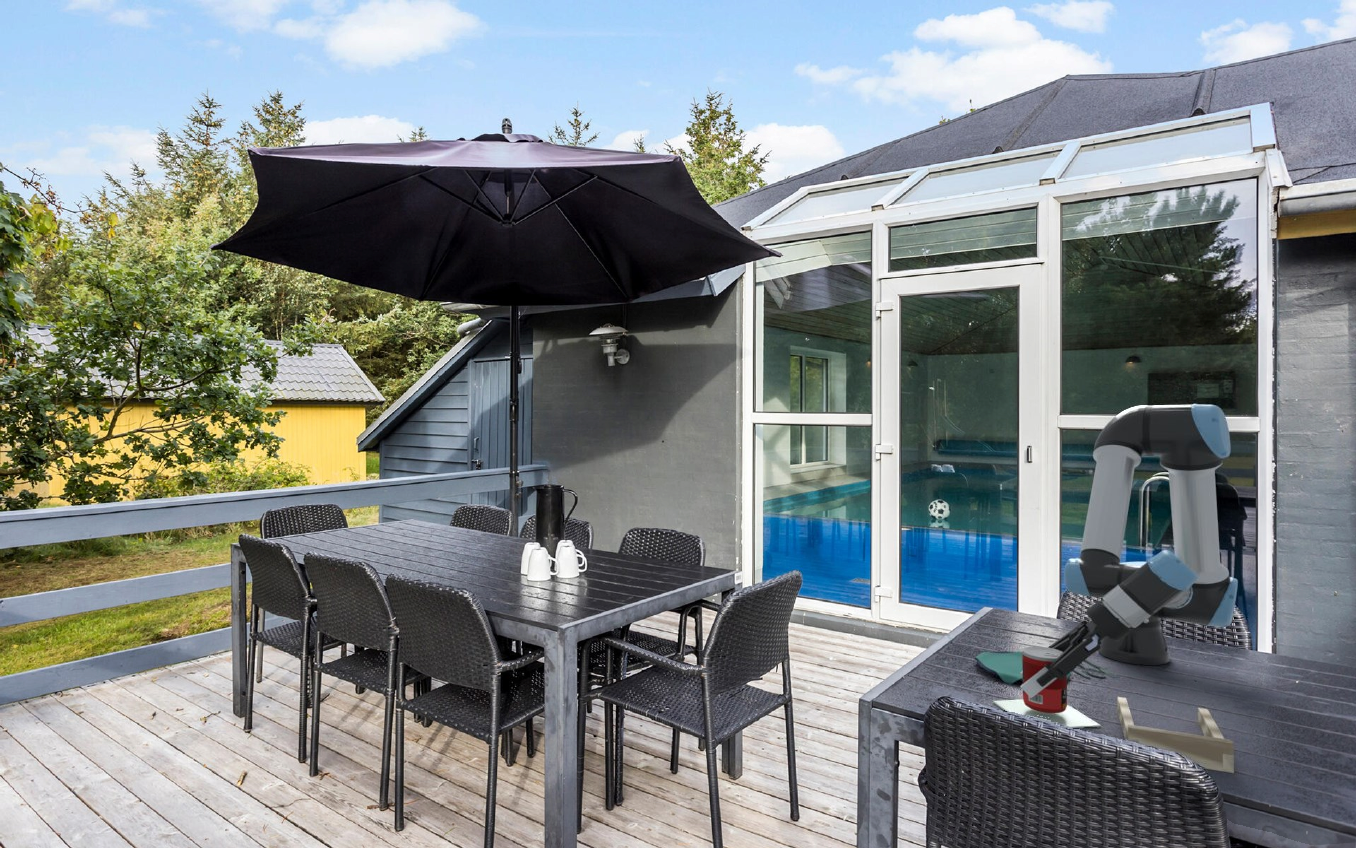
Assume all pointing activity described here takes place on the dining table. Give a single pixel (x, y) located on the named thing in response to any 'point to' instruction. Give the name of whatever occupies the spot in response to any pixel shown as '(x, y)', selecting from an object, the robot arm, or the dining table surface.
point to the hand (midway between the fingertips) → (1025, 685)
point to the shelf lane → (1183, 739)
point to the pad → (1049, 714)
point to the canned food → (1055, 692)
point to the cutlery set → (1011, 666)
